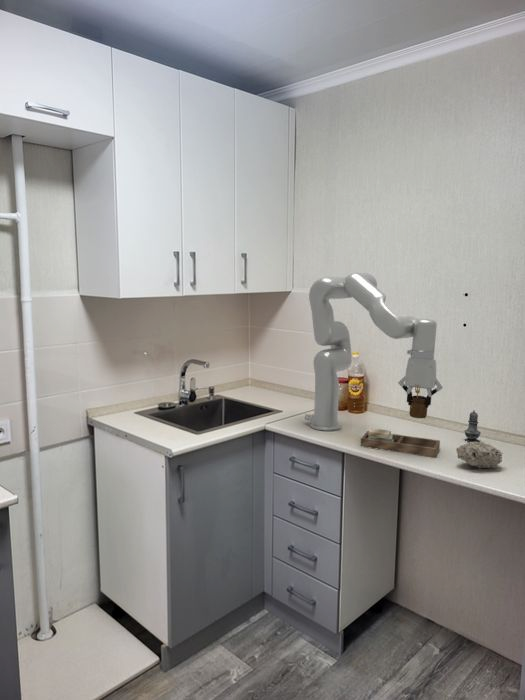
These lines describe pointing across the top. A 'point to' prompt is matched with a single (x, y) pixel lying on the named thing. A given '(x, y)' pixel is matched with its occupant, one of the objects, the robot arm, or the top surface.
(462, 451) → the pumice stone
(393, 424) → the top surface
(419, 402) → the utensil holder
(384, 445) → the wooden divided tray
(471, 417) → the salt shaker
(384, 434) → the offcut stack
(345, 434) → the top surface
